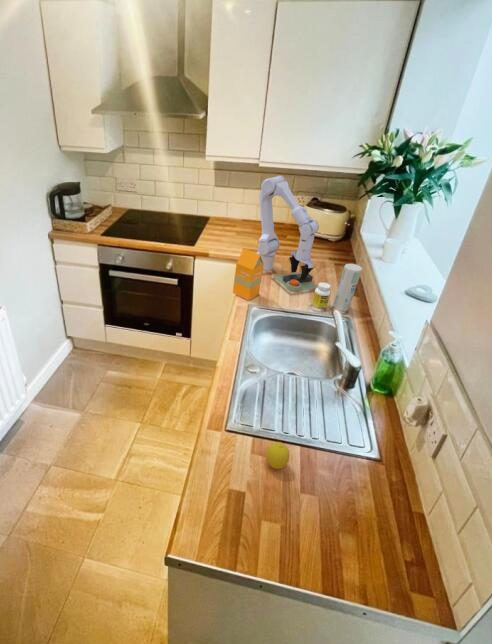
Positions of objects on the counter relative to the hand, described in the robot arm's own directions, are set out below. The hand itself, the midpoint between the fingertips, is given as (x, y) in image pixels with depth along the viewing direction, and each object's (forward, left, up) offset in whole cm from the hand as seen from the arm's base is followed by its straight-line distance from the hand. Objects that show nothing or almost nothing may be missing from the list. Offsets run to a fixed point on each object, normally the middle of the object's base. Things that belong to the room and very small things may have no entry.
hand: (298, 275), depth 184 cm
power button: (+6, -6, -1) cm, 8 cm away
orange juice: (+2, -28, -4) cm, 28 cm away
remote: (0, 0, -3) cm, 3 cm away
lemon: (+85, -62, -4) cm, 105 cm away
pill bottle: (+22, -3, -4) cm, 22 cm away
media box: (+1, -1, -4) cm, 4 cm away
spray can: (+26, +5, -4) cm, 26 cm away
